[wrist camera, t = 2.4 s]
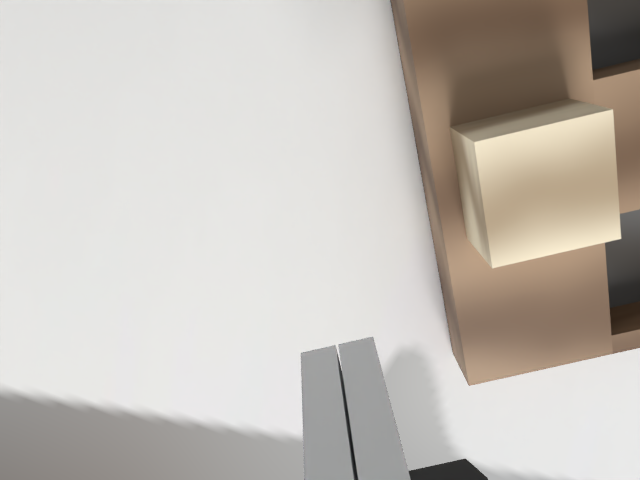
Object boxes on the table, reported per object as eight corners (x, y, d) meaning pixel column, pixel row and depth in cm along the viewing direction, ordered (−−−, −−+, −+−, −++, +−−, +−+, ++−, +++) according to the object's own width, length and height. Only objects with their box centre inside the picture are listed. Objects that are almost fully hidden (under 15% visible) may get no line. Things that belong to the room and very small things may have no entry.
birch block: (449, 127, 25) (474, 142, 21) (569, 98, 24) (613, 109, 21) (467, 238, 26) (492, 268, 23) (579, 212, 26) (621, 238, 23)
